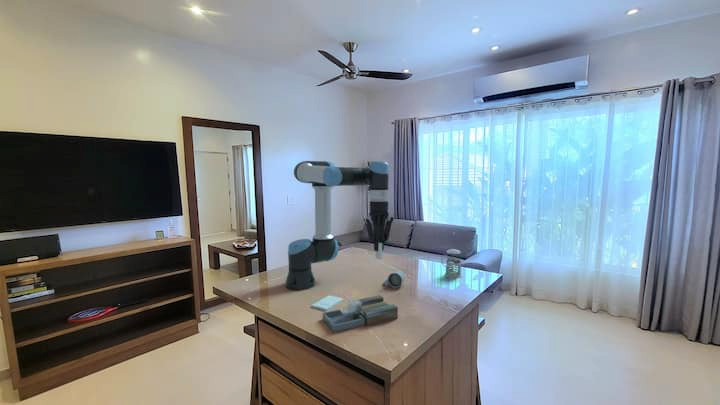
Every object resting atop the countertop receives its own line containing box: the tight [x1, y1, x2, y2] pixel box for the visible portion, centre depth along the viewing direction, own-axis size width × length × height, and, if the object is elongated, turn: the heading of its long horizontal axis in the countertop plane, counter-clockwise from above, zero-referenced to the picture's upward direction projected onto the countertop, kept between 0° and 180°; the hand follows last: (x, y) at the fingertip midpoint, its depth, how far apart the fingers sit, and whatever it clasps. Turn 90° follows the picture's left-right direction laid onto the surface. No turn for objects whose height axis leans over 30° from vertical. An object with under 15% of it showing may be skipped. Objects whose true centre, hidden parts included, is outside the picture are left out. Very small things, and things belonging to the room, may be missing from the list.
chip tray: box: [322, 308, 366, 333], centre depth 113 cm, size 12×12×2 cm
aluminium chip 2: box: [347, 299, 362, 315], centre depth 115 cm, size 4×4×4 cm
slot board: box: [358, 294, 399, 327], centre depth 119 cm, size 14×14×4 cm
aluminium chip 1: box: [339, 307, 353, 323], centre depth 113 cm, size 4×4×4 cm
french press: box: [440, 231, 463, 279], centre depth 167 cm, size 10×12×25 cm
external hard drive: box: [310, 294, 344, 312], centre depth 130 cm, size 2×8×12 cm
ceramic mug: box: [383, 269, 405, 289], centre depth 153 cm, size 11×8×8 cm
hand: (378, 258), depth 119 cm, fingers closed
